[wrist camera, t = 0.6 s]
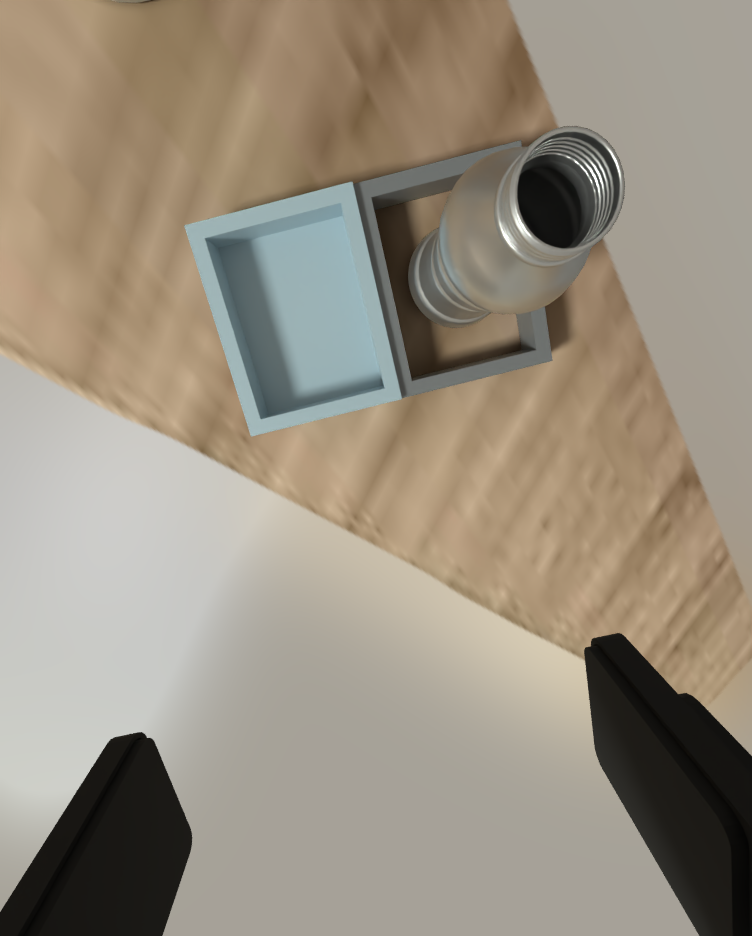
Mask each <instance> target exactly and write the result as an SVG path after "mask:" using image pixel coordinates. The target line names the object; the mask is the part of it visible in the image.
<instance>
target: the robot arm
mask: <svg viewBox="0 0 752 936" xmlns="http://www.w3.org/2000/svg"><path fill="white" fill-rule="evenodd" d="M112 1H116V2H129V3H139V2H144V1H149V0H112ZM584 654H585V663H586V672H587V681H588V690H589V700H590V709H591V718H592V726H593V736H594V745H595V751H596V754H597V757H598V760H599V762H600V765H601V767H602V769H603V771H604V772H605V774H606V776H607V777H608V779H609V781H610V783H611V784H612V786H613V788H614V789H615V791H616V793H617V795H618V796H619V798H620V800H621V802H622V803H623V805H624V807H625V809H626V810H627V812H628V814H629V815H630V817H631V818H632V820H633V822H634V824H635V826H636V827H637V829H638V831H639V832H640V834H641V836H642V838H643V839H644V841H645V843H646V845H647V846H648V848H649V850H650V852H651V853H652V855H653V857H654V858H655V860H656V862H657V863H658V865H659V867H660V869H661V870H662V872H663V874H664V876H665V877H666V879H667V881H668V883H669V884H670V886H671V888H672V889H673V891H674V893H675V895H676V896H677V898H678V900H679V901H680V903H681V905H682V906H683V908H684V910H685V912H686V914H687V915H688V917H689V919H690V920H691V922H692V924H693V925H694V927H695V929H696V931H697V932H698V934H699V936H752V756H751V755H750V754H749V753H748V752H747V751H746V750H745V749H744V748H743V747H742V746H741V745H740V743H738V741H737V740H736V739H735V738H734V737H733V736H732V735H731V734H730V733H729V732H728V731H727V730H726V729H725V728H724V727H723V726H722V725H721V724H720V723H719V722H718V721H717V720H716V719H715V718H714V717H713V716H712V715H711V713H710V712H709V711H708V710H707V709H706V708H705V707H704V706H703V705H702V704H701V703H700V702H699V701H698V700H697V699H695V698H694V697H693V696H691V695H689V694H687V693H683V694H677V693H676V691H675V690H674V689H673V688H672V687H671V686H670V685H669V684H668V683H667V682H666V681H665V680H664V678H663V677H662V676H661V675H660V674H659V673H658V672H657V671H656V670H655V669H654V668H653V667H652V665H651V664H650V663H649V662H648V661H647V660H646V659H645V658H644V657H643V656H642V655H641V654H640V653H639V651H638V650H637V649H636V648H635V647H634V646H633V645H632V644H631V643H630V642H629V641H628V640H627V638H626V637H625V636H623V635H622V634H620V633H616V634H612V635H607V636H602V637H597V638H593V639H592V641H591V647H586V648H585V650H584ZM191 845H192V833H191V829H190V826H189V824H188V822H187V819H186V817H185V814H184V812H183V809H182V807H181V805H180V802H179V800H178V798H177V795H176V793H175V790H174V788H173V785H172V783H171V781H170V778H169V776H168V773H167V771H166V769H165V766H164V764H163V761H162V759H161V756H160V754H159V752H158V749H157V747H156V745H155V742H154V741H153V739H151V738H147V737H146V735H145V734H144V733H142V732H139V733H133V734H129V735H124V736H119V737H115V738H113V739H111V740H110V741H109V742H108V743H107V745H106V747H105V748H104V750H103V751H102V753H101V754H100V756H99V757H98V759H97V761H96V762H95V764H94V766H93V767H92V768H91V770H90V772H89V773H88V775H87V776H86V778H85V780H84V781H83V783H82V784H81V786H80V787H79V789H78V790H77V792H76V794H75V795H74V797H73V798H72V800H71V802H70V803H69V805H68V806H67V808H66V809H65V811H64V812H63V814H62V816H61V817H60V819H59V820H58V822H57V824H56V825H55V827H54V828H53V830H52V832H51V833H50V834H49V836H48V838H47V839H46V841H45V843H44V844H43V846H42V847H41V849H40V850H39V852H38V853H37V855H36V857H35V858H34V860H33V861H32V863H31V864H30V866H29V868H28V869H27V871H26V872H25V874H24V875H23V877H22V879H21V880H20V882H19V883H18V885H17V886H16V888H15V890H14V891H13V893H12V895H11V896H10V898H9V899H8V901H7V902H6V904H5V905H4V907H3V909H2V910H1V912H0V936H162V935H163V932H164V929H165V926H166V923H167V920H168V917H169V914H170V911H171V908H172V905H173V902H174V899H175V896H176V893H177V890H178V887H179V884H180V881H181V878H182V875H183V872H184V869H185V866H186V863H187V860H188V857H189V854H190V851H191Z"/></svg>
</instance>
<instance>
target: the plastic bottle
mask: <svg viewBox="0 0 752 936" xmlns="http://www.w3.org/2000/svg"><path fill="white" fill-rule="evenodd" d="M624 189H625V181H624V173H623V169H622V166H621V163H620V160H619V158H618V156H617V154H616V152H615V150H614V149H613V147H612V146H611V145H610V144H609V143H608V141H607V140H606V139H604V138H603V137H602V136H600V135H599V134H598V133H596V132H594V131H592V130H590V129H587V128H583V127H578V126H564V127H560V128H557V129H553V130H551V131H549V132H547V133H545V134H543V135H542V136H540V137H539V138H538V139H536V140H535V141H534V142H533V143H531V144H530V146H529V147H513V148H510V149H506V150H502V151H498V152H495V153H492V154H490V155H488V156H486V157H484V158H482V159H480V160H478V161H477V162H476V163H475V164H473V165H472V166H471V167H470V168H468V169H467V170H466V171H465V172H464V174H463V175H462V176H461V177H460V178H459V180H458V181H457V182H456V183H455V185H454V187H453V189H452V191H451V193H450V194H449V196H448V199H447V201H446V204H445V207H444V210H443V213H442V216H441V219H440V226H439V228H437V229H435V230H433V231H432V232H430V233H429V234H428V235H427V236H425V237H424V238H423V239H422V240H421V242H420V243H419V244H418V245H417V247H416V249H415V251H414V252H413V254H412V257H411V260H410V264H409V271H408V282H409V288H410V292H411V295H412V297H413V300H414V302H415V304H416V305H417V307H418V308H419V310H420V311H421V312H422V313H423V314H424V315H425V316H426V317H427V318H428V319H430V320H431V321H433V322H435V323H436V324H439V325H442V326H444V327H450V328H463V327H467V326H471V325H473V324H475V323H477V322H480V321H481V320H482V319H484V318H485V317H486V316H487V315H489V314H490V313H491V312H492V313H498V314H523V313H527V312H531V311H535V310H538V309H540V308H542V307H544V306H546V305H549V304H550V303H552V302H553V301H554V300H556V299H557V298H558V297H560V296H561V295H562V294H563V293H564V292H565V291H566V289H567V288H568V287H569V286H570V285H571V284H572V283H573V281H574V280H575V279H576V277H577V276H578V274H579V273H580V271H581V269H582V268H583V266H584V265H585V262H586V260H587V257H588V255H589V252H590V250H591V247H592V246H594V245H595V244H596V243H598V242H599V241H600V240H601V239H602V238H603V237H604V236H605V235H606V234H607V233H608V232H609V231H610V229H611V228H612V226H613V225H614V223H615V221H616V220H617V218H618V215H619V213H620V210H621V208H622V203H623V199H624Z"/></svg>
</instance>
